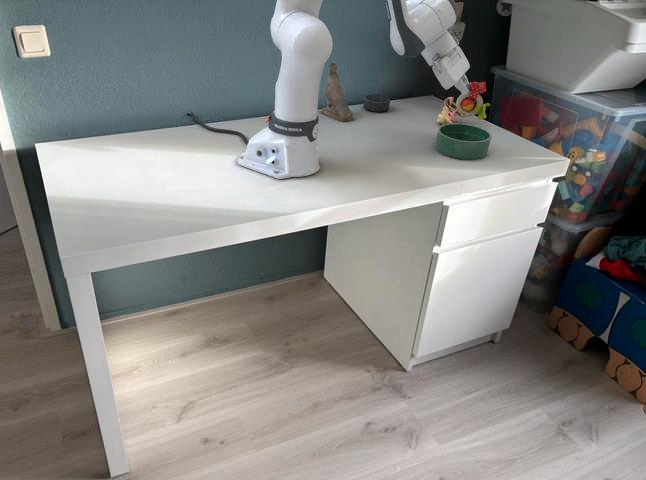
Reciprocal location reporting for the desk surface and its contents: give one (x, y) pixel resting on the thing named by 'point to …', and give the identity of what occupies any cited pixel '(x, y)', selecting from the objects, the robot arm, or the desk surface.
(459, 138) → the bowl
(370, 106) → the smart speaker
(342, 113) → the worn brown figurine
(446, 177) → the desk surface
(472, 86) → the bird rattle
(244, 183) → the desk surface
